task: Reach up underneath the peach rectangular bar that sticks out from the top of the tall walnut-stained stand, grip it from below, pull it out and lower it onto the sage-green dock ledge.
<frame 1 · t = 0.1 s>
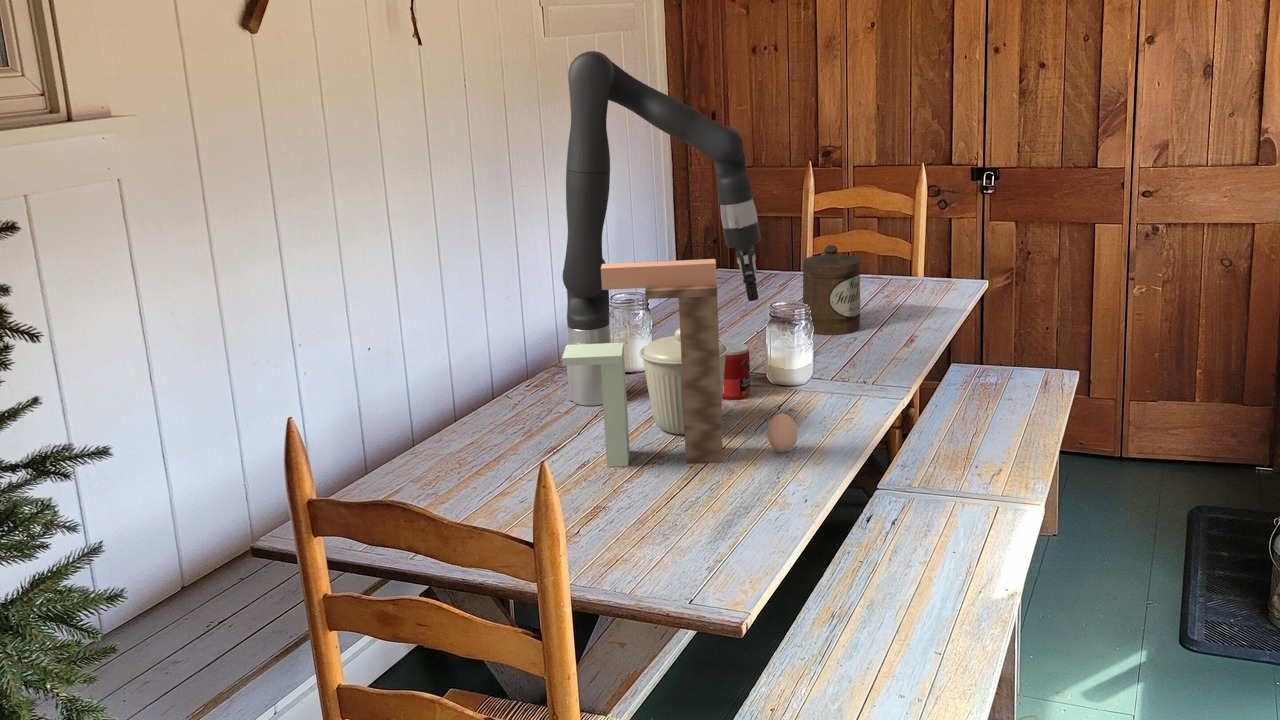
hand: (752, 295, 260), 22 cm above the table, tool pointing down, fingers open, 8 cm apart
wooden container: (831, 328, 316), on the table
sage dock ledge: (600, 459, 233), on the table
egg: (782, 452, 232), on the table
canned food: (732, 395, 267), on the table
peach rectangular bar: (659, 284, 222), point 34 cm above the table, touching walnut stand
walnut stand: (688, 456, 232), on the table
canister: (687, 427, 248), on the table
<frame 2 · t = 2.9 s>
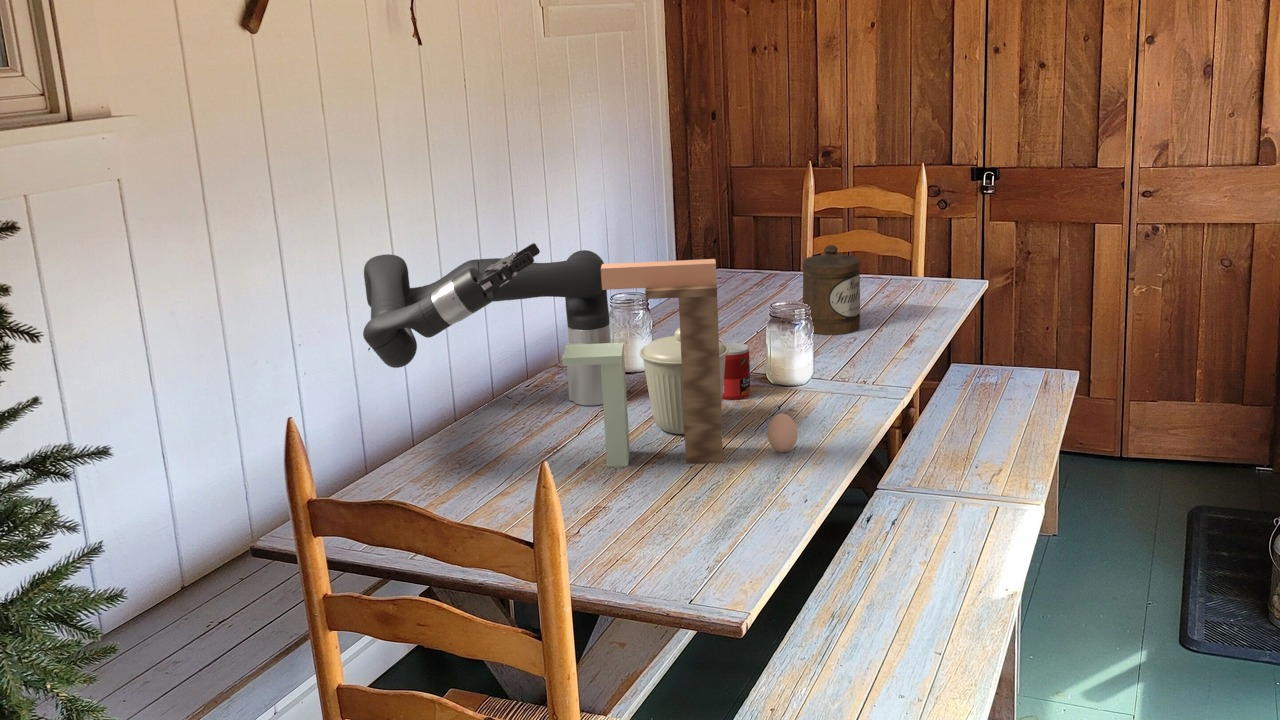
hand: (534, 251, 221), 41 cm above the table, tool pointing upward, fingers open, 8 cm apart
nothing on the table moved.
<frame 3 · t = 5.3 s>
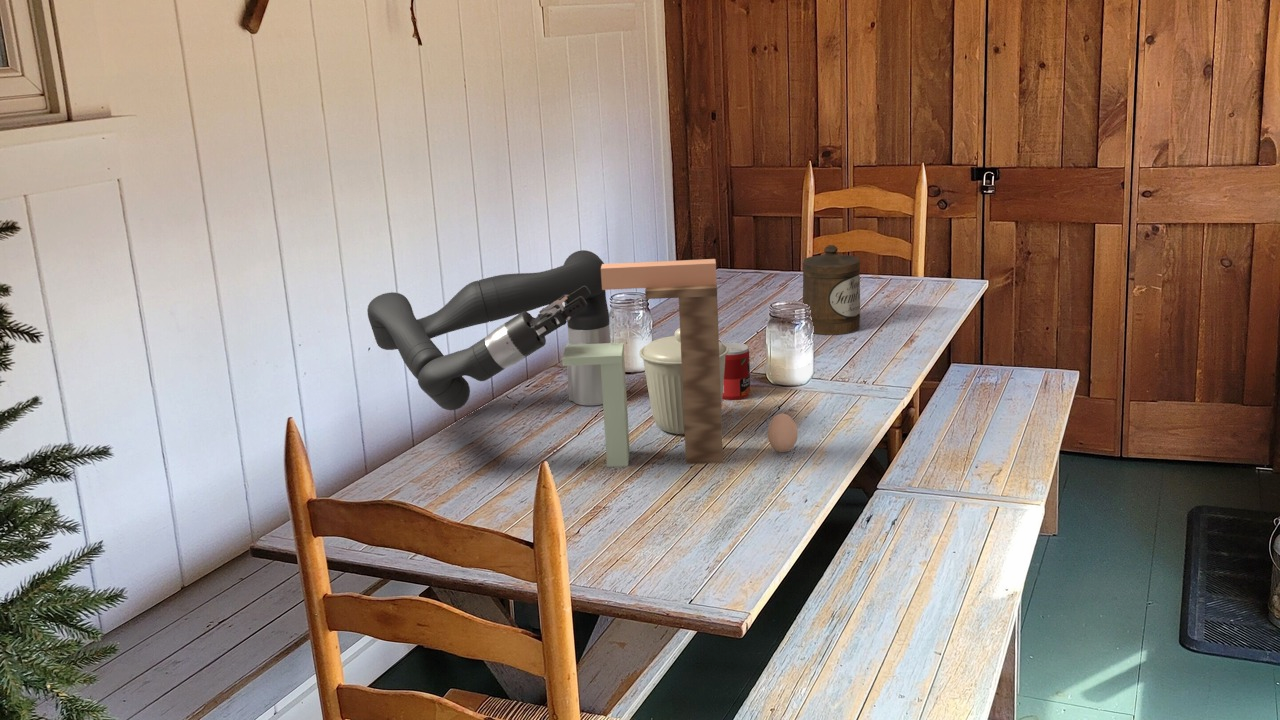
hand: (586, 295, 223), 33 cm above the table, tool pointing upward, fingers open, 8 cm apart
nothing on the table moved.
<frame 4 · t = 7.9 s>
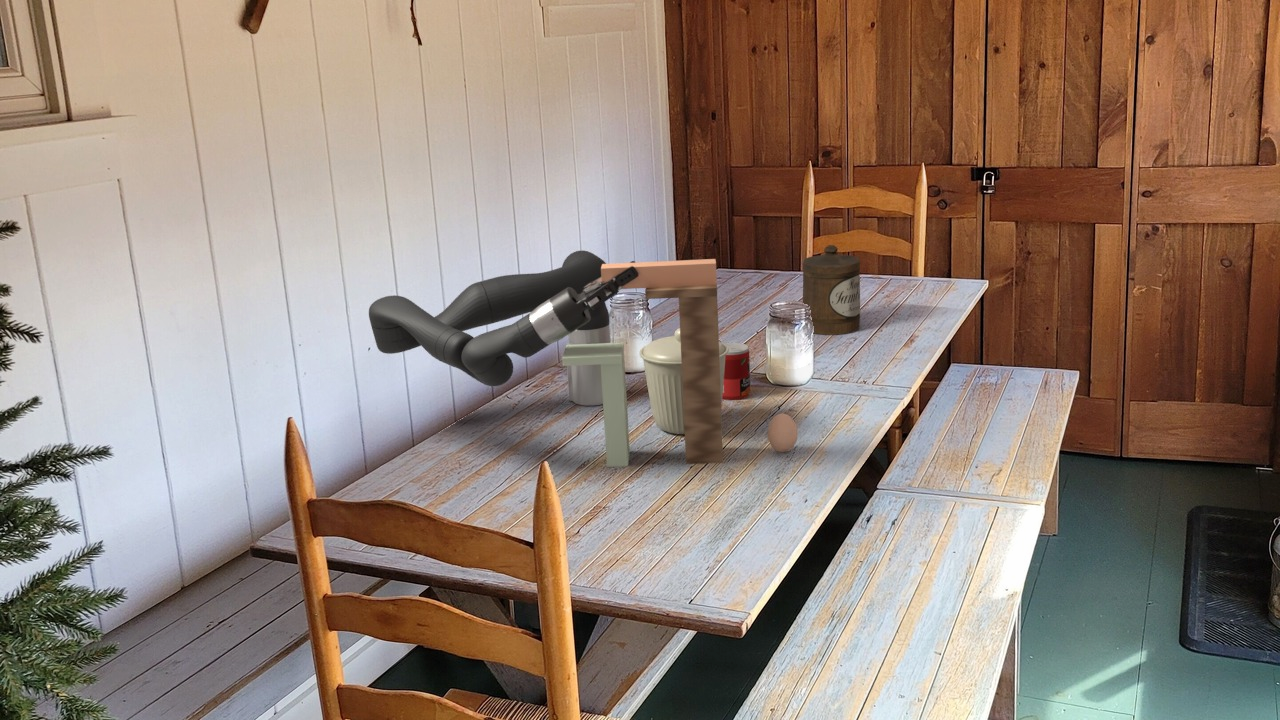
hand: (636, 268, 222), 37 cm above the table, tool pointing upward, fingers closed on peach rectangular bar, 4 cm apart
peach rectangular bar: (659, 284, 222), point 34 cm above the table, touching gripper, walnut stand
everything else where it was.
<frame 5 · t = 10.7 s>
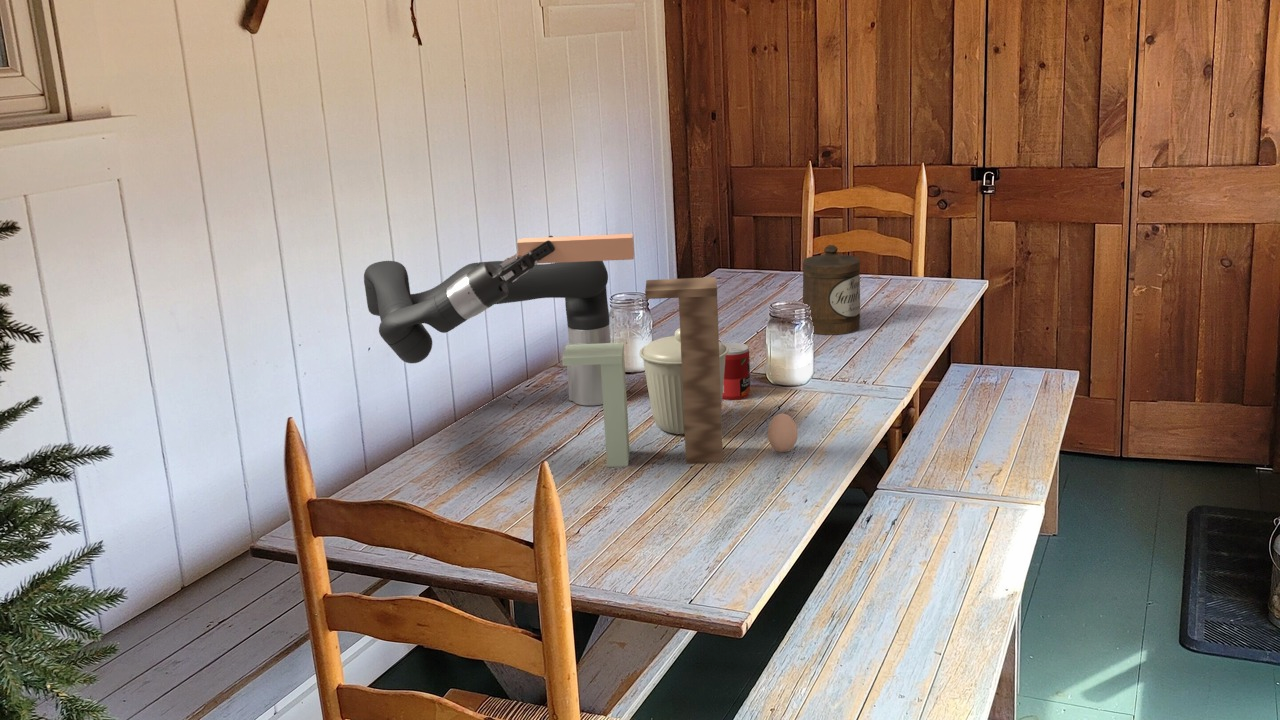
hand: (553, 242, 221), 43 cm above the table, tool pointing upward, fingers closed on peach rectangular bar, 4 cm apart
peach rectangular bar: (576, 259, 222), point 39 cm above the table, touching gripper
everything else where it was.
when the fingers open (27 cm above the table, at t = 13.8 s): peach rectangular bar drops 2 cm, resting on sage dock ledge.
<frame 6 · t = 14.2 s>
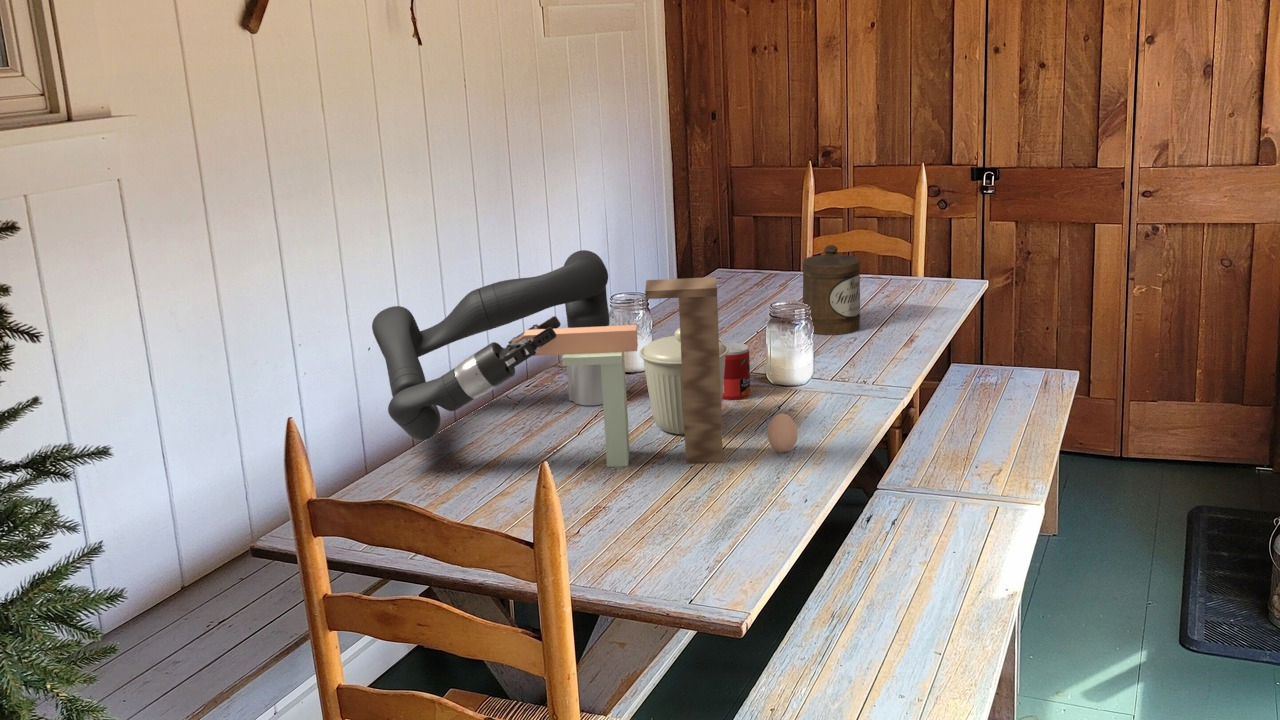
hand: (556, 325, 225), 27 cm above the table, tool pointing upward, fingers open, 7 cm apart
peach rectangular bar: (581, 350, 227), point 22 cm above the table, touching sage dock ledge
everything else where it was.
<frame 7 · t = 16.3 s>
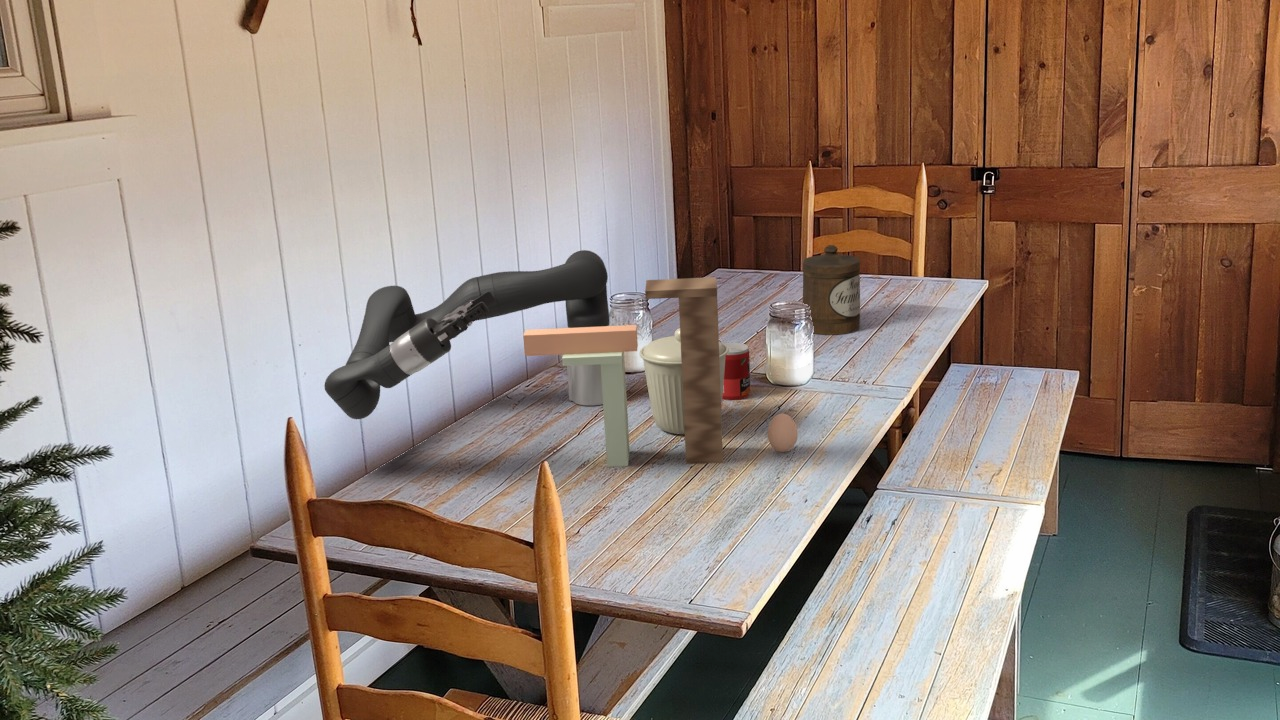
hand: (489, 300, 224), 32 cm above the table, tool pointing upward, fingers open, 8 cm apart
nothing on the table moved.
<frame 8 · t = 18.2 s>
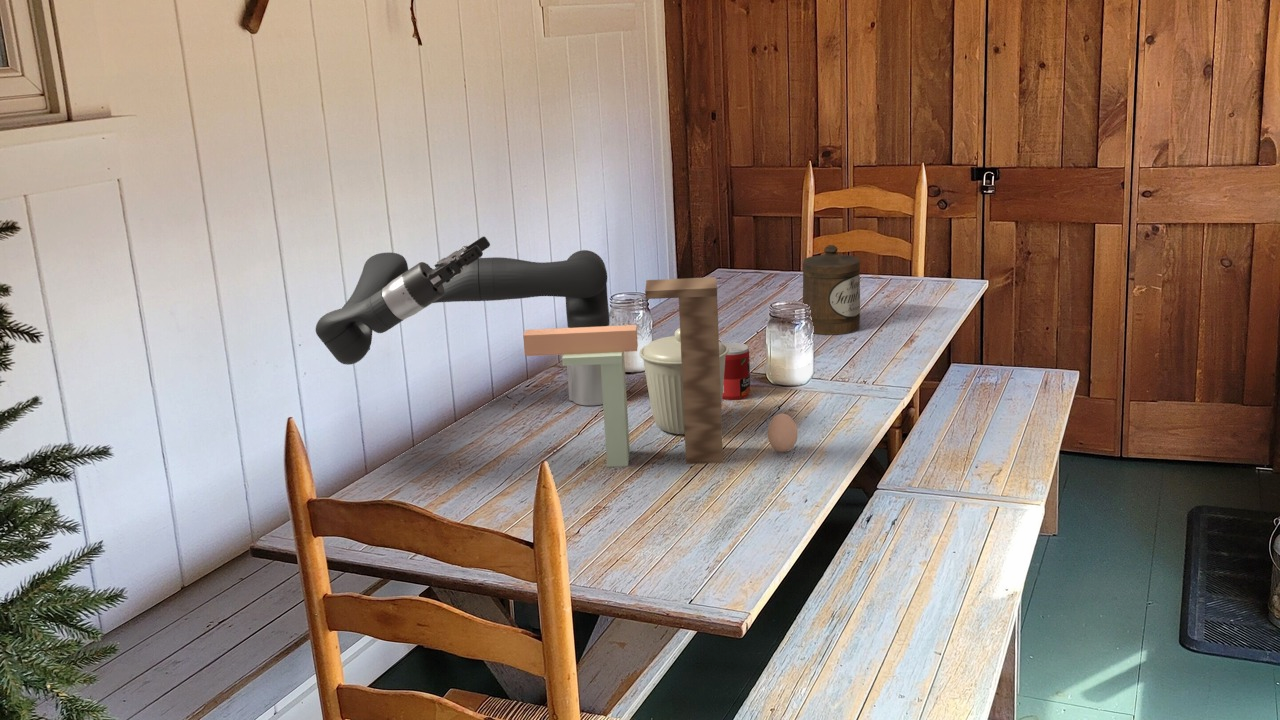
hand: (483, 245, 221), 43 cm above the table, tool pointing upward, fingers open, 8 cm apart
nothing on the table moved.
at the end: peach rectangular bar inside the target area on the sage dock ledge (2.2 cm from its centre), point 22.0 cm above the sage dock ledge's base; peach rectangular bar touching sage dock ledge; the gripper is holding nothing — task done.
